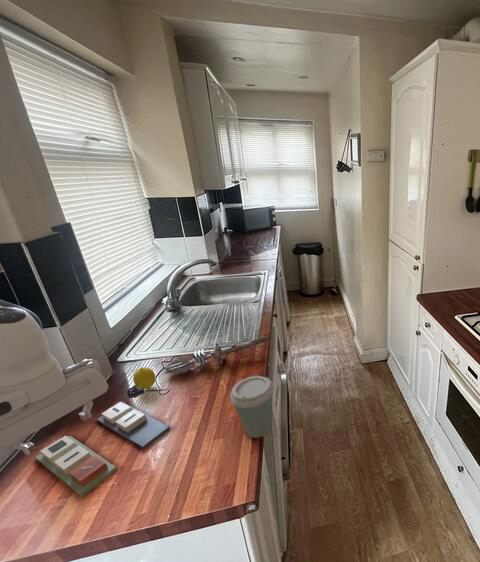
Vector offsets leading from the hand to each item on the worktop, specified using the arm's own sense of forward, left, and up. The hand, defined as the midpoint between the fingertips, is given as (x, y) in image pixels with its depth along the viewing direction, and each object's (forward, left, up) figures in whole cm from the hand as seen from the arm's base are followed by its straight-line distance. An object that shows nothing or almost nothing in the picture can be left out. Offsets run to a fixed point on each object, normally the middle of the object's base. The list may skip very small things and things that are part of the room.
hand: (60, 434), depth 67 cm
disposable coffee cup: (+28, +28, -14) cm, 42 cm away
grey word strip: (-6, +14, -14) cm, 21 cm away
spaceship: (-7, +44, -14) cm, 47 cm away
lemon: (-18, +25, -14) cm, 34 cm away
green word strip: (-6, +1, -14) cm, 15 cm away
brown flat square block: (+1, +1, -13) cm, 13 cm away
